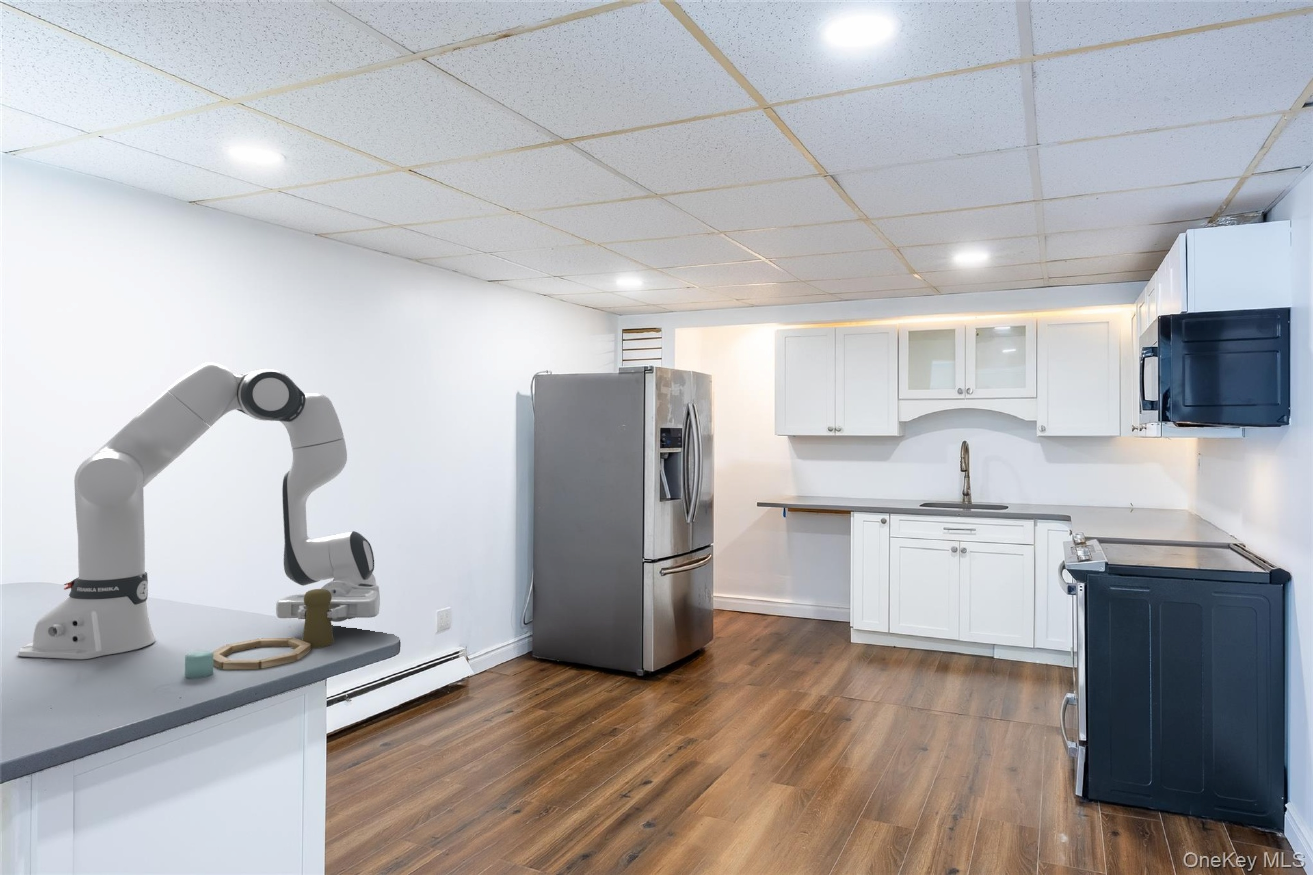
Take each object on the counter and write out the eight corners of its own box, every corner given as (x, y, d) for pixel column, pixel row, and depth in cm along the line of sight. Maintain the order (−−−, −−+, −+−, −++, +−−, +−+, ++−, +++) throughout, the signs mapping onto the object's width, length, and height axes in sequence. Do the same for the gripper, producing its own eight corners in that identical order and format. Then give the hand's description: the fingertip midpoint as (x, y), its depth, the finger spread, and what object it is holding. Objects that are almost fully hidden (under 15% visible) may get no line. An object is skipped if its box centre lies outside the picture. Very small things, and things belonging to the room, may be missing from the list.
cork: (322, 649, 161) (322, 593, 161) (295, 647, 163) (294, 592, 162) (340, 640, 167) (339, 587, 167) (313, 639, 168) (313, 586, 168)
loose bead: (180, 678, 143) (180, 658, 143) (191, 670, 147) (191, 651, 147) (207, 678, 143) (207, 658, 143) (217, 670, 148) (217, 651, 148)
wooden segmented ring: (193, 669, 148) (193, 663, 148) (235, 644, 164) (235, 638, 164) (287, 668, 149) (287, 662, 149) (320, 643, 165) (320, 637, 165)
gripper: (290, 585, 177) (262, 600, 163) (386, 585, 178) (366, 599, 164) (290, 614, 177) (263, 631, 163) (386, 614, 178) (367, 630, 164)
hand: (316, 615), depth 164 cm, fingers open, 4 cm apart
